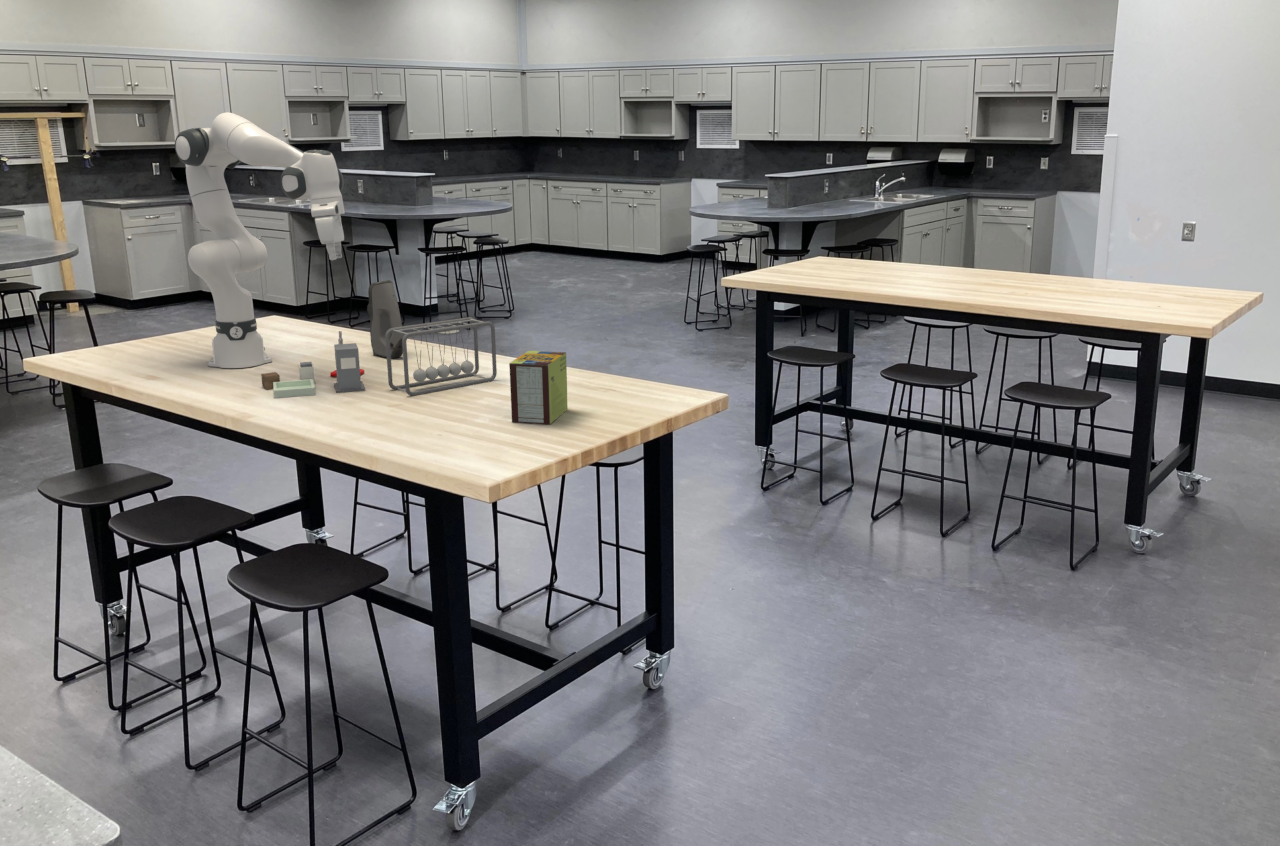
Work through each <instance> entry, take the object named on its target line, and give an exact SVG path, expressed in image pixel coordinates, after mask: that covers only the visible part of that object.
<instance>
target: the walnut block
mask: <svg viewBox="0 0 1280 846" xmlns="http://www.w3.org/2000/svg"><path fill="white" fill-rule="evenodd" d="M260 375H261V386H262V388H263V389H265V391H269V390H274V389H273V382H281V378H280V374H279V373H278V372H276V371H273V372H265V373H261V374H260Z"/></svg>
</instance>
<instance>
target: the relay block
mask: <svg viewBox="0 0 1280 846" xmlns="http://www.w3.org/2000/svg"><path fill="white" fill-rule="evenodd" d="M298 370H299V380H308V379H313V382H314V385H316V377H315V367H314V363H313V362H312V361H301V362H300V361H299V365H298Z"/></svg>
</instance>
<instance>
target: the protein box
mask: <svg viewBox="0 0 1280 846" xmlns="http://www.w3.org/2000/svg"><path fill="white" fill-rule="evenodd" d="M567 370H568V369H567V352H564V351H543V350H541V351H540V350H527V351H526V352H524V353H523V354H521V355H519V356H518V357H517V358H516V359H513V360H512V361H510V362H509V384H510V408H511V423H516V424H519V423H520V424H533V423H536V424H535V425H537V424H538V425H551V424H552V423H554V422H555V421H556V420H557V419H558V418H559V417H560V416H559V415H561V414H562V413H563V412H564V411H565V410H566V411H567V410H568V408H569V407H568V374H567V372H568V371H567ZM566 411H565V412H566ZM565 412H564V413H565ZM564 413H563V414H564ZM563 414H562V415H563ZM562 415H561V416H562ZM558 416H559V417H558ZM557 417H558V418H557ZM556 418H557V419H556ZM555 419H556V420H555ZM554 420H555V421H554ZM553 421H554V422H553Z"/></svg>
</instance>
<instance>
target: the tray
mask: <svg viewBox="0 0 1280 846" xmlns="http://www.w3.org/2000/svg"><path fill="white" fill-rule="evenodd" d="M272 390H273V398H274V399H280V398H281V399H282V398H293V397H304V396H316V388H315V384H314V382H313V379H308V380H300V379H297V380H284V381H283V380H282V381H280V382H273V389H272Z"/></svg>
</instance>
